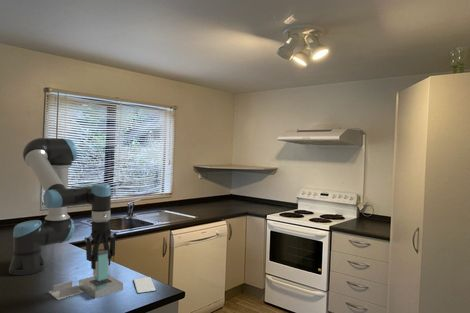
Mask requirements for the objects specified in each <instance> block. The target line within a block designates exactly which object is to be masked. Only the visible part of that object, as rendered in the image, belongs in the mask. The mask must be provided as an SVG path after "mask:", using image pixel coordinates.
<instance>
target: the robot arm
mask: <svg viewBox="0 0 470 313" xmlns="http://www.w3.org/2000/svg"><path fill="white" fill-rule="evenodd" d="M22 157H23V161H24V163H25V164H26V165H27V166H29V167H30V168H31V170H32V172H33V174H35V176H36V178H37V180H38V182H39V183H40V185H41V188H43V191H44V193H43V196H42V198H43V205H44V206H45V208H47V210H48V211H47V215H45V217H44V221H43V222H42V220H40V219H34V220H28V221H27V220H26V221H23V222H20V223H18V224H15V226H14V228H13V233H12V237H13V240H12V241H13V244H12V245H13V249H12V250H13V254H12V255H13V256H12V259H11V262H10V265H9V268H8V274H9V275H13V276H26V275H32V274H33V275H34V274H37V273H39V272H40V273H41V271H44V270H45V269H46V262H45V260H44V259H45V258H44V256H43V253H42V247H45V246H49V245H55V244H62V243H65V242H69V241H70V240H71V239H72V238H73V236H74V234H75V222H74V220H73V218H71V216H70V215H69V213H68V208H69V207H74V206H83V205H84V206H85V205H91V220H92V221H91V233H90V235H89V236H88V237H84V238H83V239H84V241H85V246H86V247H85V252H86V253H85V254H86V260H87V261H88V262H91V264H90V266H91V268H90V269H92V271H93V272H92V274H93V275H92V277H93V276H95V277H98V261H96V258H97V253H98V250H99V249H100V248H99V247H100V244H101V243H102V245H103V249H105V250H108V272H109V266H111V259H112V258H113V257H114V256H115V255H116V238H117V236H118V234H117V233H116V232H113V231H111V207H112V206H111V204H112V203H111V202H112V200H111V198H112V197H111V195H112V192H111V185H110V184H108V183H95V184H92V186H82V187H75V188H73V187H72V188H68V187H69V186H68V185H69V169H70V167H71V166H72V164H73V162H75V161H76V160H77V157H78V151H77V146H76V144H75V143H74V141H73V140H72V139H69V138H59V137H57V138H49V137H48V138H47V137H45V138H44V137H39V138H38V137H37V138H34V139H32V140H31V141H29V142H28V143H27V144H26V145H25V146H24V148H23V151H22ZM92 241H93V245H92ZM92 246H93V247H92Z"/></svg>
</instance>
